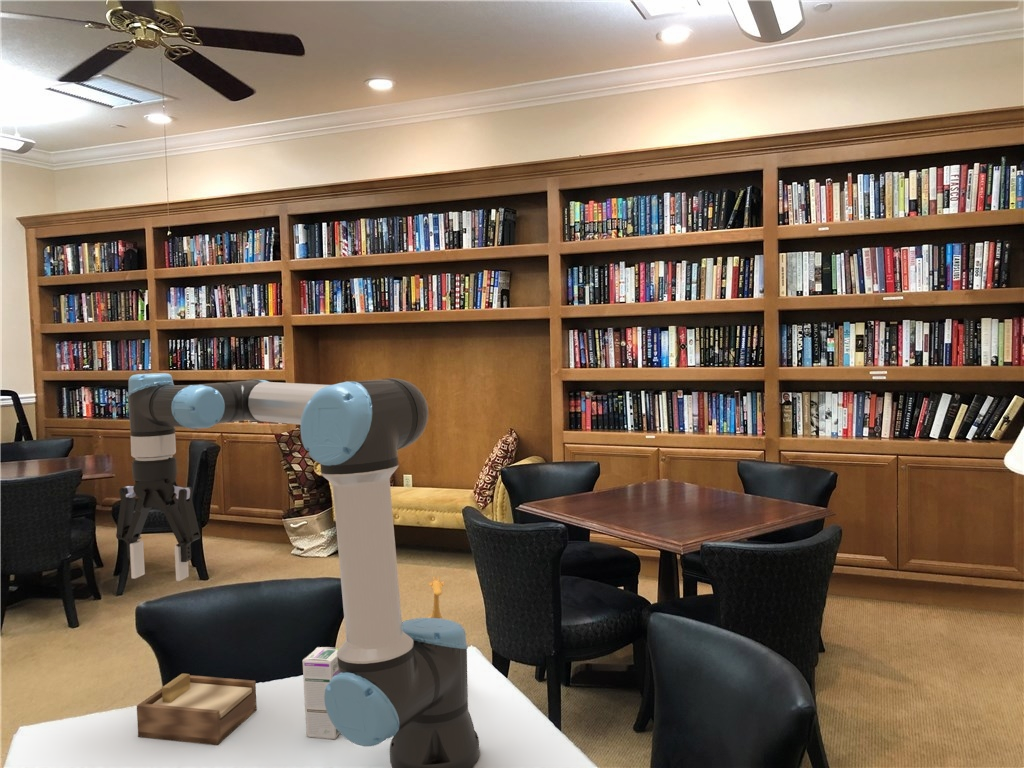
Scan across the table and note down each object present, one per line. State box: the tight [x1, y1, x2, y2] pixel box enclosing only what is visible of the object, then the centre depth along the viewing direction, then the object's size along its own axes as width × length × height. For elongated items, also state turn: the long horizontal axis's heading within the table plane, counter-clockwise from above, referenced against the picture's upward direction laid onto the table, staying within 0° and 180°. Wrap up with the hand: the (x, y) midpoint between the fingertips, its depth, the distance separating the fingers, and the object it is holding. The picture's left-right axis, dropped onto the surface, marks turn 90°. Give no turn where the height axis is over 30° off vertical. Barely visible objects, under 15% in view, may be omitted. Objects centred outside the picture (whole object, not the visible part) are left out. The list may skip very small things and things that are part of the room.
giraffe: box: [427, 575, 445, 619], centre depth 155 cm, size 16×4×25 cm, turn 10°
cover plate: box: [153, 673, 252, 718], centre depth 145 cm, size 15×10×4 cm
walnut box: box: [136, 675, 258, 746], centre depth 145 cm, size 16×13×6 cm
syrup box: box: [302, 646, 341, 740], centre depth 141 cm, size 6×6×14 cm
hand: (160, 577), depth 145 cm, fingers open, 9 cm apart
